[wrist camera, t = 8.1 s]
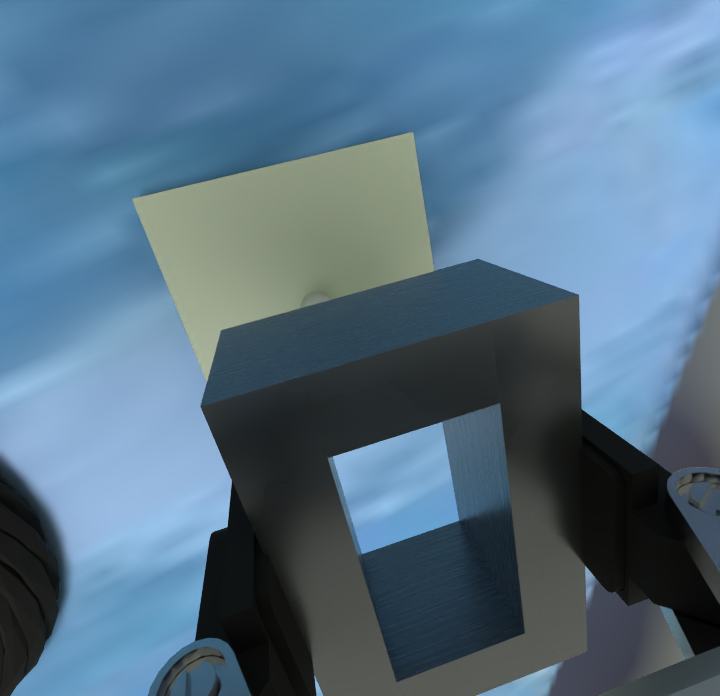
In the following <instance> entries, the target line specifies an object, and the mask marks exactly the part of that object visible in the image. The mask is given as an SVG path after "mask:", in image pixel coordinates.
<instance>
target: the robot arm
mask: <svg viewBox="0 0 720 696" xmlns="http://www.w3.org/2000/svg"><path fill="white" fill-rule="evenodd" d="M579 460H580V498H581V536H582V562H583V563H584V565H585V566H586V567H587V568H588V569H589V570H590V572H591V573H592V574H593V575H594V576H595V578H596V579H597V580H598V581H599V582H600V584H601V585H602V586H603V587H604V588H605V589H606V590H607V591H609V592H611V593H612V592H615V591H616V593H617V594H618V595H619V596H620V597H621V598H622V600H623V601H624V602H625V603H626V604H627V605H628V606H630V605H632V604H635V603H637V602H640V601H643V600H645V599H648V598H649V599H650V600H651V601H652V602H653V603H654V604H657V605H660V607H661V610H662V612H663V614H664V616H665V618H666V621H667V622H668V625H669V627H670V629H671V631H672V633H673V635H674V637H675V639H676V642H677V644H678V646H679V648H680V650H681V652H682V654H683V656H684V659H685V660H684V661H681V662H679V663H677V664H674V665H671V666H669V667H666V668H664V669H662V670H659V671H657V672H654V673H652V674H649V675H647V676H644V677H642V678H640V679H637V680H634V681H632V682H629V683H627V684H625V685H622V686H620V687H617V688H615V689H612V690H610V691H608V692H605V693H602V694H600V695H598V696H720V470H718V469H713V468H705V467H692V468H685V469H681V470H679V471H677V472H675V473H673V474H671V473H670V472H668V471H667V470H665V469H664V468H663V467H661V466H660V465H659V464H658V463H656V462H655V461H653V460H652V459H651V458H649V457H648V456H646V455H645V454H644V453H642V452H641V451H639V450H638V449H637V448H635V447H634V446H632V445H631V444H629V443H628V442H627V441H625V440H624V439H622V438H621V437H620V436H618V435H617V434H615V433H614V432H613V431H611V430H610V429H608V428H607V427H606V426H604V425H603V424H601V423H600V422H599V421H597V420H596V419H594V418H593V417H592V416H590V415H589V414H587V413H586V412H585V411H583V410H582V448H580V449H579ZM148 696H316V688H315V678H314V669H313V661H312V659H311V656H310V654H309V651H308V649H307V647H306V644H305V642H304V639H303V637H302V635H301V632H300V630H299V628H298V625H297V623H296V620H295V618H294V616H293V613H292V611H291V608H290V606H289V604H288V601H287V599H286V597H285V594H284V592H283V589H282V587H281V585H280V582H279V580H278V577H277V575H276V573H275V570H274V568H273V566H272V563H271V561H270V558H269V556H268V554H266V555H263V552H262V550H261V548H260V545H259V543H258V540H257V538H256V536H255V533H254V531H253V529H252V526H251V524H250V522H249V519H248V517H247V515H246V512H245V510H244V508H243V505H242V503H241V500H240V498H239V496H238V493H237V491H236V489H235V486H234V484H233V482H232V487H231V498H230V508H229V519H228V527H227V528H224V529H221V530H218V531H215V532H213V533H212V534H211V537H210V541H209V548H208V555H207V562H206V569H205V576H204V583H203V590H202V597H201V604H200V610H199V617H198V624H197V631H196V638H195V641H194V642H193V643H191V644H189V645H187V646H185V647H184V648H182V649H181V650H179V651H178V652H177V653H176V654H175V655H174V656H172V657H171V658H170V659H169V660H168V661H167V663H166V664H165V665H164V666H163V668H162V669H161V670H160V671H159V673H158V674H157V676H156V678H155V680H154V682H153V683H152V685H151V687H150V690H149V694H148Z"/></svg>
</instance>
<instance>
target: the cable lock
mask: <svg viewBox="0 0 720 696" xmlns="http://www.w3.org/2000/svg"><path fill="white" fill-rule="evenodd" d="M58 589H59V573H58V568H57V562H56V558H55V556H54V555H53V553H52V552H51V551H50V549H49V548H48V547H47V543H46V538H45V535H44V532H43V530H42V527H41V524H40V522H39V519H38V517H37V516H36V514H35V513H34V511H33V510H32V509H31V507H30V506H29V504H28V503H27V501H26V500H25V499H24V498H22V497H21V496H20V495H18V494H17V493H16V492H15V491H14V490H13V489H12V487H11V486H10V485H9V484H8V483H7V482H6V481H5V480H4V479H3V478H2V477H1V476H0V696H10V695H11V694H12V692H13V691H14V689H15V688H16V686H17V685H18V684H19V683H20V682H21V680H22V679H23V678H24V677H25V676H26V675H27V674H28V673H29V672H30V671H31V670H32V669H33V668H34V667H35V666H36V664H37V663H38V660H39V658H40V656H41V654H42V652H43V650H44V644H45V642H46V640H47V639H48V638H49V637H50V636H51V634H52V630H53V627H54V624H55V620H56V617H57V614H58V606H57V601H56V600H57V599H58Z"/></svg>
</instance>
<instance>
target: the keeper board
mask: <svg viewBox="0 0 720 696" xmlns="http://www.w3.org/2000/svg"><path fill="white" fill-rule="evenodd" d="M132 201H133V203H134V206H135V208H136V211H137V213H138V215H139V218H140V220H141V223H142V225H143V228H144V230H145V232H146V235H147V237H148V240H149V242H150V245H151V247H152V250H153V252H154V254H155V257H156V259H157V262H158V264H159V267H160V269H161V272H162V274H163V276H164V279H165V281H166V284H167V286H168V289H169V291H170V293H171V296H172V298H173V301H174V303H175V306H176V308H177V311H178V313H179V315H180V318H181V320H182V323H183V325H184V328H185V330H186V332H187V335H188V337H189V340H190V342H191V345H192V347H193V350H194V352H195V354H196V357H197V359H198V362H199V364H200V367H201V369H202V372H203V374H204V376H205V379H206V381H208V377H209V373H210V369H211V366H212V362H213V358H214V355H215V351H216V347H217V343H218V340H219V336H220V332H221V330H223V329H227V328H231V327H234V326H238V325H242V324H245V323H249V322H252V321H256V320H260V319H263V318H267V317H270V316H274V315H278V314H281V313H285V312H288V311H292V310H296V309H299V308H303V307H307V306H310V305H314V304H317V303H321V302H325V301H328V300H332V299H335V298H339V297H343V296H346V295H350V294H353V293H357V292H361V291H364V290H368V289H371V288H375V287H379V286H382V285H386V284H390V283H393V282H397V281H400V280H404V279H408V278H411V277H415V276H418V275H422V274H426V273H429V272H433V271H434V265H433V258H432V252H431V245H430V239H429V232H428V225H427V219H426V212H425V206H424V199H423V193H422V186H421V180H420V173H419V167H418V160H417V154H416V147H415V141H414V134H413V132H410V133H406V134H402V135H398V136H393V137H389V138H385V139H381V140H377V141H372V142H368V143H364V144H360V145H356V146H351V147H347V148H343V149H339V150H335V151H330V152H326V153H322V154H318V155H314V156H310V157H305V158H301V159H297V160H293V161H289V162H284V163H280V164H276V165H272V166H268V167H263V168H259V169H255V170H251V171H247V172H242V173H238V174H234V175H230V176H226V177H221V178H217V179H213V180H209V181H205V182H200V183H196V184H192V185H188V186H184V187H179V188H175V189H171V190H167V191H163V192H158V193H154V194H150V195H146V196H142V197H137V198H133V199H132Z"/></svg>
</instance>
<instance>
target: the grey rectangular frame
mask: <svg viewBox="0 0 720 696" xmlns="http://www.w3.org/2000/svg"><path fill="white" fill-rule="evenodd" d="M201 409H202V411H203V413H204V416H205V418H206V421H207V423H208V425H209V428H210V430H211V432H212V435H213V437H214V439H215V442H216V444H217V446H218V449H219V451H220V453H221V456H222V458H223V461H224V463H225V465H226V468H227V470H228V472H229V475H230V477H231V479H232V482H233V484H234V486H235V489H236V491H237V493H238V496H239V498H240V500H241V503H242V505H243V508H244V510H245V512H246V515H247V517H248V519H249V522H250V524H251V526H252V529H253V531H254V533H255V536H256V538H257V540H258V543H259V545H260V548H261V550H262V552H263V555H266V554H268V556H269V558H270V561H271V563H272V566H273V568H274V570H275V573H276V575H277V577H278V580H279V582H280V585H281V587H282V589H283V592H284V594H285V597H286V599H287V601H288V604H289V606H290V608H291V611H292V613H293V616H294V618H295V620H296V623H297V625H298V628H299V630H300V632H301V635H302V637H303V639H304V642H305V644H306V647H307V649H308V651H309V654H310V656H311V659H312V661H313V669H314V675H315V677H316V679H317V682H318V684H319V686H320V689H321V691H322V693H323V696H476V695H478V694H481V693H484V692H486V691H489V690H491V689H494V688H496V687H499V686H501V685H504V684H506V683H509V682H511V681H514V680H516V679H519V678H522V677H524V676H527V675H529V674H532V673H534V672H537V671H539V670H542V669H544V668H547V667H549V666H552V665H554V664H557V663H560V662H562V661H565V660H567V659H570V658H572V657H575V656H577V655H580V654H582V653H585V652H587V629H586V584H585V565H584V563H583V562H582V536H581V498H580V460H579V449H580V448H582V409H581V365H580V321H579V295H578V294H575V293H572V292H569V291H566V290H564V289H561V288H558V287H555V286H552V285H550V284H547V283H544V282H541V281H538V280H536V279H533V278H530V277H527V276H525V275H522V274H519V273H516V272H513V271H511V270H508V269H505V268H502V267H499V266H497V265H494V264H491V263H488V262H485V261H483V260H480V259H476V260H473V261H469V262H465V263H462V264H458V265H455V266H451V267H447V268H444V269H440V270H436V271H433V272H429V273H426V274H422V275H418V276H415V277H411V278H408V279H404V280H400V281H397V282H393V283H390V284H386V285H382V286H379V287H375V288H371V289H368V290H364V291H361V292H357V293H353V294H350V295H346V296H343V297H339V298H335V299H332V300H328V301H325V302H321V303H317V304H314V305H310V306H307V307H303V308H299V309H296V310H292V311H288V312H285V313H281V314H278V315H274V316H270V317H267V318H263V319H260V320H256V321H252V322H249V323H245V324H242V325H238V326H234V327H231V328H227V329H223V330H221V332H220V336H219V340H218V343H217V347H216V351H215V355H214V358H213V362H212V366H211V369H210V373H209V377H208V381H207V384H206V388H205V392H204V395H203V399H202V403H201ZM440 422H442V423H443V429H444V434H445V440H446V446H447V452H448V458H449V463H450V469H451V475H452V481H453V487H454V492H455V498H456V504H457V510H458V516H459V521H457V522H454V523H452V524H449V525H446V526H443V527H440V528H437V529H434V530H431V531H428V532H426V533H423V534H420V535H417V536H414V537H411V538H408V539H405V540H402V541H400V542H397V543H394V544H391V545H388V546H385V547H382V548H379V549H376V550H374V551H371V552H368V553H365V554H362V553H361V549H360V546H359V543H358V540H357V536H356V533H355V530H354V526H353V523H352V520H351V516H350V513H349V510H348V506H347V503H346V500H345V496H344V493H343V490H342V487H341V483H340V480H339V477H338V473H337V470H336V467H335V463H334V460H333V456H336V455H339V454H342V453H345V452H348V451H352V450H355V449H358V448H361V447H364V446H367V445H370V444H374V443H377V442H380V441H383V440H386V439H389V438H392V437H396V436H399V435H402V434H405V433H408V432H411V431H414V430H418V429H421V428H424V427H427V426H430V425H433V424H436V423H440Z"/></svg>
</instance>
